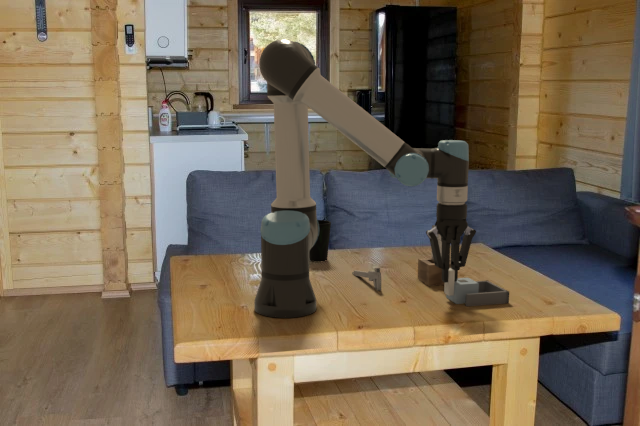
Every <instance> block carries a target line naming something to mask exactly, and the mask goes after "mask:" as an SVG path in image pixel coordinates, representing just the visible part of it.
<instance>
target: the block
mask: <svg viewBox="0 0 640 426" xmlns="http://www.w3.org/2000/svg"><path fill="white" fill-rule="evenodd" d="M476 281H477V280H474V279H472V278H470V277H458V280H457V282H454V295H452V296H448V295H447V294H445V296H446V299H448V300H449V301H450V302H452V303H454V304H456V305H460V304H461V305H463V304H465V303H466V294H471V293H478V291H479V283H477V282H476Z"/></svg>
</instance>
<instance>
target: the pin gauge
mask: <svg viewBox="0 0 640 426" xmlns="http://www.w3.org/2000/svg"><path fill="white" fill-rule="evenodd" d="M434 227H435V224H433V225H431V229H432V228H434ZM437 239H438V243H439V248H440V253H442V242H441V236H440V234H439V233H438V231H437ZM430 258H431V263H434V259H433V254H432V253H431V257H430Z"/></svg>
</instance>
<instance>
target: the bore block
mask: <svg viewBox="0 0 640 426" xmlns="http://www.w3.org/2000/svg"><path fill="white" fill-rule="evenodd" d="M450 263H451V260H450ZM449 268H451V266H450V267H449ZM417 280H419V281H420V282H422V283H424V284H425V285H427V286H428V287H430V286H431V287H432V286H444V284H445V282H443V281H442V269H441V268H439V267H437V266H435V263H431V257H429V258H428V257H427V258H425V257H424V258H417Z"/></svg>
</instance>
